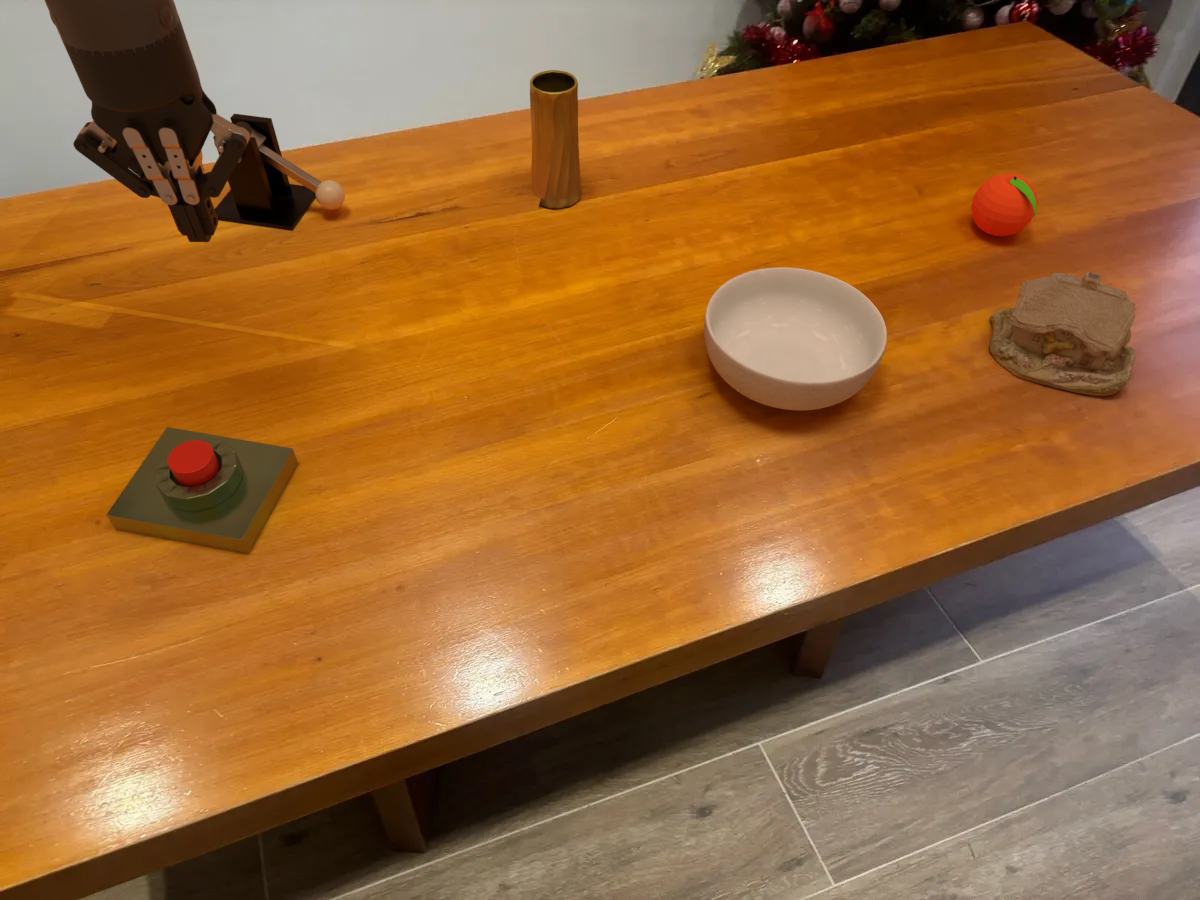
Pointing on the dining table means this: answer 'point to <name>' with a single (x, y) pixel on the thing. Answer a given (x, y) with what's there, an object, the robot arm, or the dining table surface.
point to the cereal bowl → (793, 337)
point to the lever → (302, 176)
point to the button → (193, 463)
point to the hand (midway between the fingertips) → (202, 236)
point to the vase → (555, 138)
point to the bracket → (262, 186)
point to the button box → (206, 493)
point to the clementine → (1004, 205)
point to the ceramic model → (1067, 334)
